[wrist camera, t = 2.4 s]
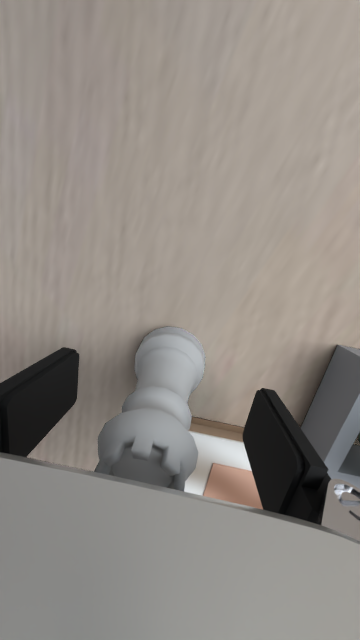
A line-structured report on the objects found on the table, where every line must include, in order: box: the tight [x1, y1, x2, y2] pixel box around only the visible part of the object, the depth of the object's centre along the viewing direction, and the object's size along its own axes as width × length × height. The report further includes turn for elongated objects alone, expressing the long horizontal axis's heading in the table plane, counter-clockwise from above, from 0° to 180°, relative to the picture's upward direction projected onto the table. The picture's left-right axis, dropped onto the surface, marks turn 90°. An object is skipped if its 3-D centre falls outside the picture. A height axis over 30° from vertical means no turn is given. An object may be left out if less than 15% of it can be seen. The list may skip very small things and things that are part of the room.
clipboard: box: [184, 417, 263, 510], centre depth 15 cm, size 11×15×2 cm
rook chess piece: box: [94, 326, 206, 491], centre depth 9 cm, size 4×4×8 cm
